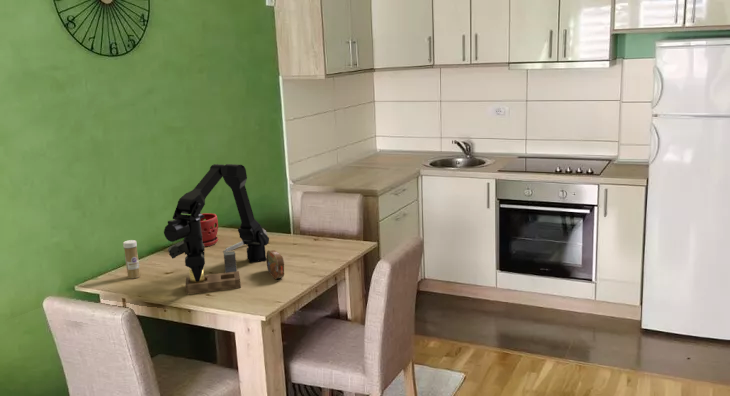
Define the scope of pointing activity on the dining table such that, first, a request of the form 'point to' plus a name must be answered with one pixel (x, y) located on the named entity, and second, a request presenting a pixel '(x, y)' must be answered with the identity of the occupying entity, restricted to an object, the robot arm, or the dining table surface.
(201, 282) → the round bit
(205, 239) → the plant pot
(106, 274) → the dining table surface
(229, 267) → the square bit
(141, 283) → the dining table surface
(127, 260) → the sprinkles bottle
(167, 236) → the robot arm
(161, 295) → the dining table surface
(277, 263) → the tin
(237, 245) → the caliper
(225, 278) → the bore block
